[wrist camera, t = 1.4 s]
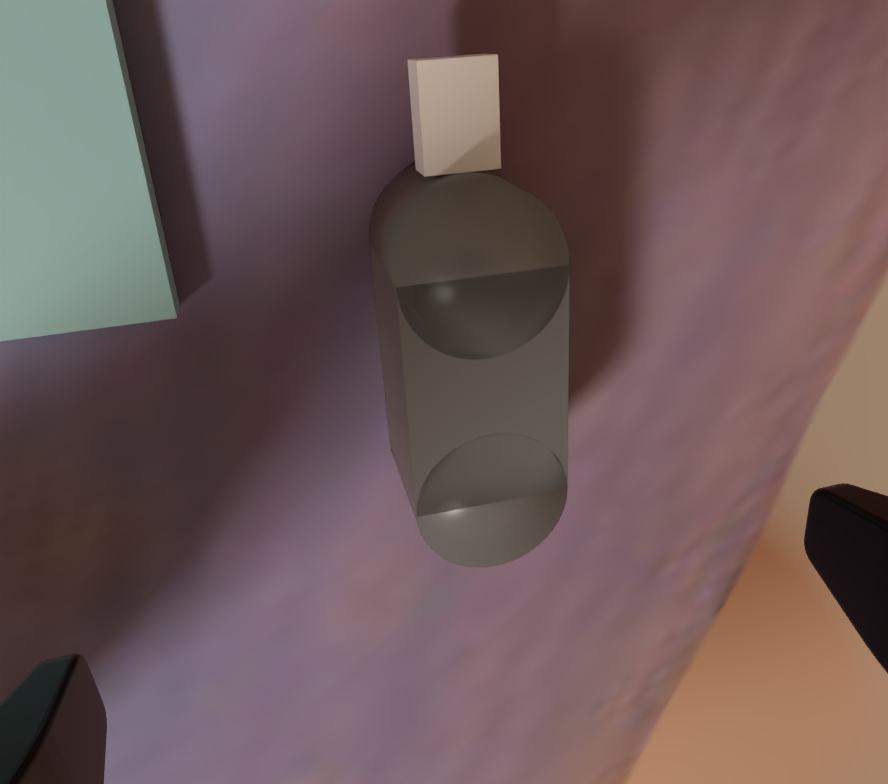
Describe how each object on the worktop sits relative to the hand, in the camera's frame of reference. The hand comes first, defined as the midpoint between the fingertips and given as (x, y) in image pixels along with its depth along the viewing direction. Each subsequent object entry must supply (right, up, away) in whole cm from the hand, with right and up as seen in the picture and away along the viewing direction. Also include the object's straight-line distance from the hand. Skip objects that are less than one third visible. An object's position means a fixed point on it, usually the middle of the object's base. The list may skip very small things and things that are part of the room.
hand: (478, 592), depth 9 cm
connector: (0, +5, +12) cm, 13 cm away
